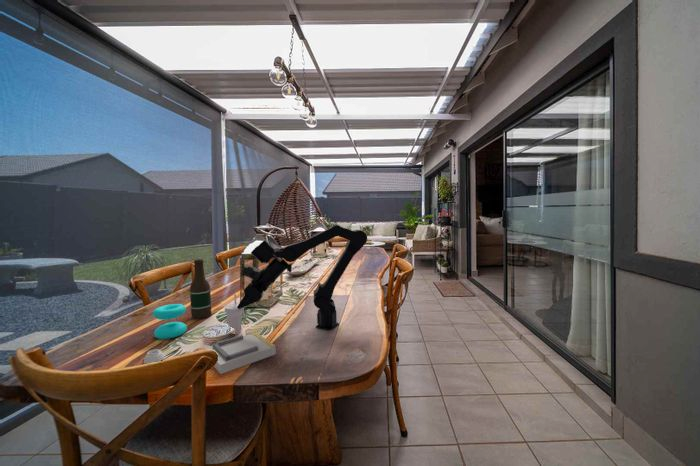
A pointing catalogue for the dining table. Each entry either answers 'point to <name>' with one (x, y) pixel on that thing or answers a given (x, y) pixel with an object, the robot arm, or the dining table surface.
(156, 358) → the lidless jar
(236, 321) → the smoothie
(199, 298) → the beer bottle
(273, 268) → the robot arm
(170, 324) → the donuts
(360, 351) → the dining table surface
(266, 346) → the dock
